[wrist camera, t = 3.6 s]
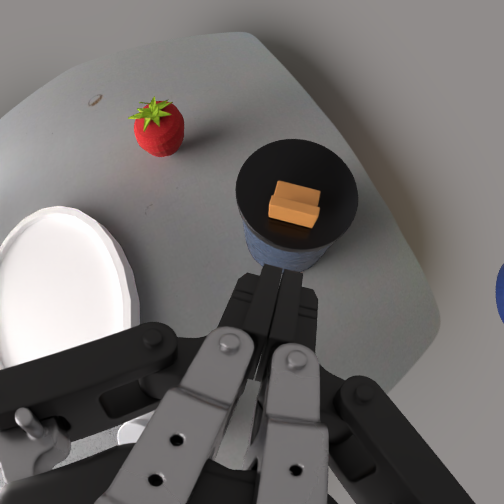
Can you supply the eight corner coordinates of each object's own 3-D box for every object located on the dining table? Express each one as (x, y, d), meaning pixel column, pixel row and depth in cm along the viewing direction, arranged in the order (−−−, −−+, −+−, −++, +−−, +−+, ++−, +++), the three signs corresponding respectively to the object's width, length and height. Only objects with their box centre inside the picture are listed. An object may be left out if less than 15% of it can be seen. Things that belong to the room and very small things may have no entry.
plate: (108, 456, 25) (99, 463, 23) (-17, 351, 28) (-27, 351, 26) (176, 250, 32) (170, 244, 29) (31, 193, 35) (22, 187, 32)
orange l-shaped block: (312, 229, 20) (318, 217, 18) (268, 217, 20) (269, 204, 18) (319, 194, 21) (325, 179, 18) (277, 183, 21) (279, 167, 19)
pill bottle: (198, 397, 28) (173, 426, 18) (193, 440, 26) (168, 479, 17) (152, 386, 28) (110, 406, 18) (148, 427, 27) (109, 458, 17)
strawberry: (154, 182, 34) (123, 136, 24) (146, 139, 36) (119, 91, 26) (199, 166, 34) (180, 114, 25) (186, 124, 36) (168, 72, 26)
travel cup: (318, 285, 30) (348, 264, 20) (233, 263, 31) (219, 230, 20) (334, 206, 32) (363, 155, 22) (256, 186, 33) (254, 128, 23)
